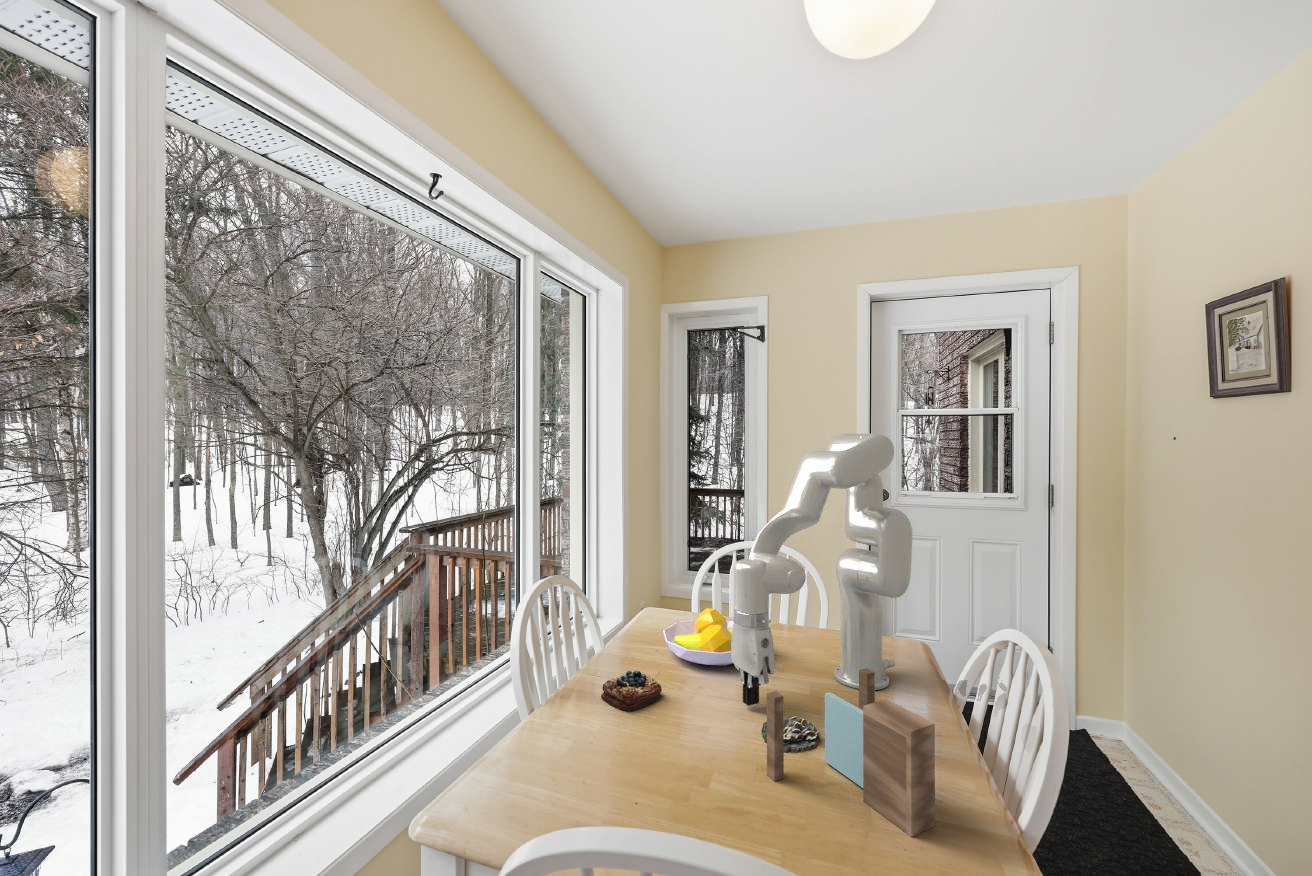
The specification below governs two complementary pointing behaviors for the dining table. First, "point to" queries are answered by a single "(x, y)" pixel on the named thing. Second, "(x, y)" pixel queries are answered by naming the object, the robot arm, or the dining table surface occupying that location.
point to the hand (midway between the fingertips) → (750, 702)
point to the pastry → (631, 691)
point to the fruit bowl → (702, 639)
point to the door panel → (844, 737)
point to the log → (796, 735)
